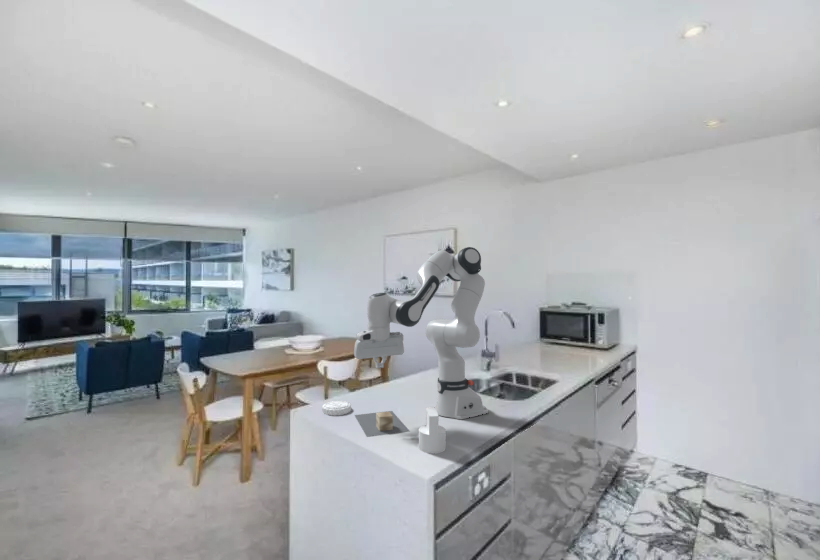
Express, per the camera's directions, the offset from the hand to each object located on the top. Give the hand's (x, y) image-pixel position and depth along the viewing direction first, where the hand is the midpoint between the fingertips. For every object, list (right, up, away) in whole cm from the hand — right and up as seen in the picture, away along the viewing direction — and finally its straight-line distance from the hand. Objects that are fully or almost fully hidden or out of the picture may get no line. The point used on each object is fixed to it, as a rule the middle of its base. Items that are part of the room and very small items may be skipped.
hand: (379, 367), depth 154 cm
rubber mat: (+1, -21, -6) cm, 21 cm away
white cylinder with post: (+20, -21, -27) cm, 39 cm away
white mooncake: (-19, -21, +8) cm, 29 cm away
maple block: (+3, -15, -11) cm, 19 cm away
